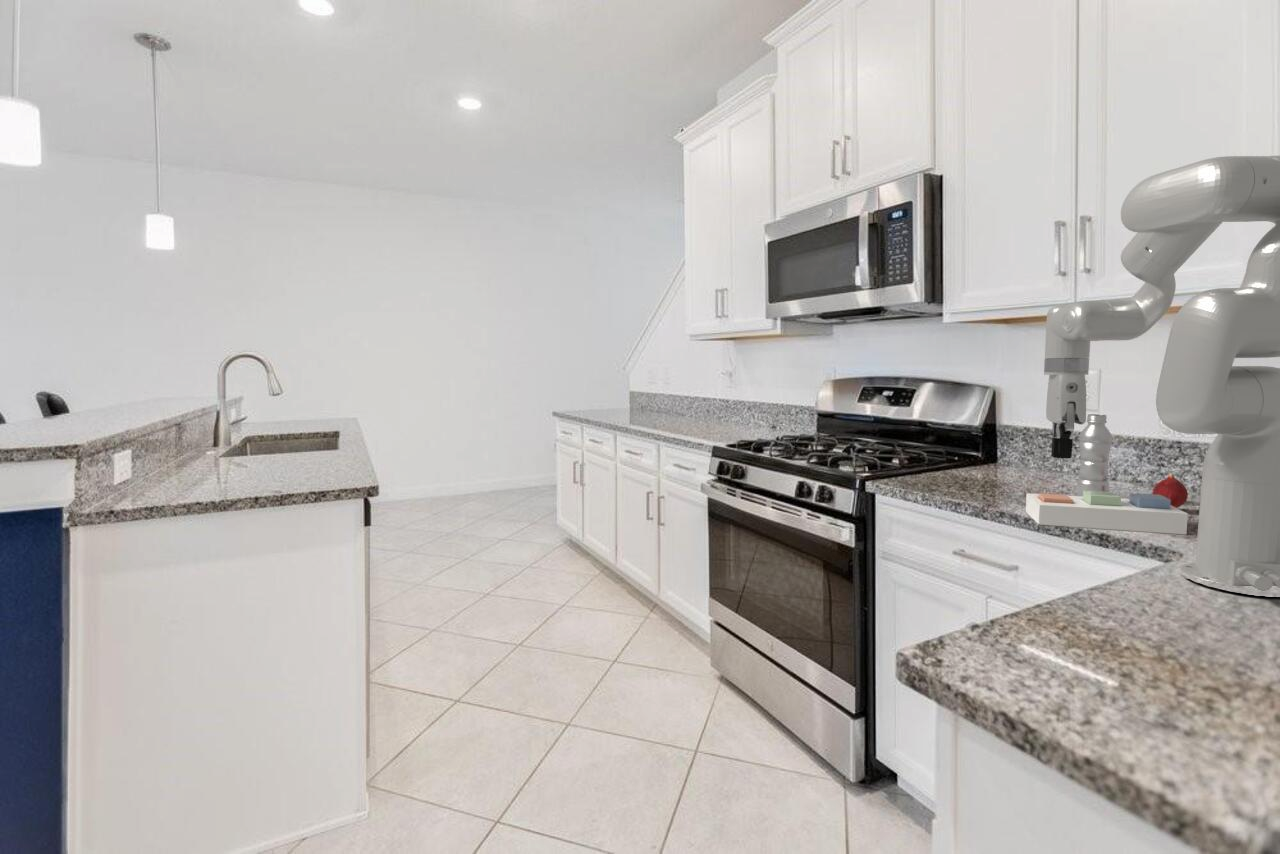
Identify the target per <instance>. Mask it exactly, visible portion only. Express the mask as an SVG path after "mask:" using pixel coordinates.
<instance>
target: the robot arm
mask: <svg viewBox="0 0 1280 854" xmlns="http://www.w3.org/2000/svg"><path fill="white" fill-rule="evenodd" d="M1120 221H1121V222H1122V224H1123V226H1124V228H1125V229H1127V230H1128V231H1130V232H1132V233H1133V232H1134V233H1136V234H1135V235H1134V236H1133V237H1132V238H1131V240H1130V241H1129V242H1127V244H1126V245H1125V247H1124V248H1123V249H1122V250H1121V254H1120V261H1121V264H1122V266H1123V267H1124V268H1125V270H1126V271H1127V272H1128V273H1130V274H1131V275H1132V276H1134V277H1135V278H1136V279H1138V280H1140V281H1142V282H1144V283H1143V285H1142V286H1141V287H1140V288H1139V290H1137V291H1136V293H1135V294H1133V296H1132V297H1131V298H1129V299H1127V300H1125V299H1114V300H1113V299H1109V300H1108V299H1106V300H1104V299H1101V300H1080V301H1076V302H1073V303H1071V304H1065V305H1055V306H1053V307H1051V308H1049V309H1048V311H1047V313H1046V322H1045V323H1046V326H1045V327H1046V329H1045V342H1044V343H1045V344H1044V347H1045V349H1044V363H1043V364H1044V365H1043V367H1044V368H1043V375H1045V376H1047V375H1048V383H1047V391H1046V392H1047V393H1046V394H1047V395H1046V403H1045V404H1046V406H1045V407H1046V408H1045V409H1046V412H1045V414H1046V419H1047V420H1048V421H1049V422H1051V423H1052V432H1051V433H1052V438H1051V453H1050V456H1051V457H1052V458H1054V459H1071V458H1072V455H1073V441H1074V440H1073V437H1074V431H1075V424H1078V425H1084V424H1086V423H1087V383H1086V376H1085V375H1087V376H1088V375H1089V373H1090V372H1089V369H1090V352H1091V342H1099V341H1100V342H1101V341H1102V342H1103V341H1129V340H1135V339H1138V338H1139V337H1142V335H1144V334H1145V333H1147V332H1148V331H1149V330H1151V328H1153V327H1154V325H1156V323H1157V322H1159V321H1160V320H1161V319H1162V318H1163V316H1165V315H1166V313H1167V312H1168V310H1169V309H1170V308H1171V306H1172V304H1173V301H1174V297H1175V292H1176V283H1177V282H1176V278H1175V273H1177V271H1178V270H1179V269H1180V268H1181V267H1182V266H1183V265H1184V264H1185V263H1186V262H1187V261H1188V260H1189V258H1191V256H1192V255H1193V254H1194V253H1195V252H1196V251H1197V250H1198V249H1199V248H1200V247H1201V246H1202V245H1203V244H1204V242H1206V241H1207V240H1208V239H1209V237H1210V236H1211V235H1212V234H1213V233H1214V232H1215V231H1216V230H1217V229H1218V228H1219V227H1220V226H1221V225H1222V224H1223V222H1224V223H1227V222H1228V223H1232V222H1233V223H1238V222H1239V223H1240V222H1241V223H1245V222H1246V223H1248V222H1269V223H1273V224H1274V226H1273V227H1272V228H1270V229H1269V230H1268V231H1267V232H1266V233H1265V234H1264V235H1263V236H1262V238H1261V239H1260V240H1259V241H1258V243H1257V244H1256V245H1255V246H1254V248H1253V250H1251V253H1250V256H1248V257H1249V258H1248V259H1247V260H1248V261H1247V265H1246V269H1245V273H1244V276H1243V279H1242V282H1241V285H1240V286H1239V287H1220V288H1219V287H1218V288H1213V289H1208V290H1204V291H1202V292H1199V293H1197V294H1196V295H1194V296H1192V297H1190V299H1188V300H1187V301H1186V302H1185V303H1183V305H1182V306H1181V307H1180V309H1179V310H1178V312H1177V314H1176V315H1175V317H1174V319H1173V321H1172V325H1171V327H1170V330H1169V331H1170V332H1169V335H1168V339H1167V343H1166V349H1165V353H1164V356H1163V357H1164V358H1163V361H1162V366H1161V369H1160V375H1159V377H1158V378H1159V379H1158V384H1157V388H1156V395H1155V396H1156V397H1155V407H1156V411H1157V412H1156V413H1157V415H1158V417H1159V419H1160V421H1161V422H1162V423H1163V424H1164V425H1165V426H1166V427H1167V428H1169V429H1170V430H1172V431H1174V432H1177V433H1182V434H1188V435H1189V434H1190V435H1191V434H1192V435H1216V437H1215V438H1214V440H1213V441H1212V442H1211V444H1210V445H1209V447H1208V449H1207V451H1206V454H1205V456H1204V459H1203V464H1202V465H1203V466H1202V475H1201V483H1200V487H1201V488H1200V496H1199V497H1200V498H1199V512H1198V525H1197V535H1196V536H1197V537H1196V550H1195V561H1194V562H1191V563H1190V562H1189V563H1186V564H1184V565H1182V566H1181V569H1180V572H1181V571H1182V572H1183V573H1185V574H1187V575H1189V576H1192V577H1195V578H1198V579H1201V580H1205V581H1211V582H1216V583H1220V584H1226V585H1231V586H1253V587H1255V588H1257V589H1258V590H1261V591H1266V590H1269V589H1270V588H1271V587H1272V586H1277V587H1279V588H1280V367H1275V366H1267V365H1266V366H1264V365H1263V366H1262V365H1239V366H1238V365H1234V362H1235V359H1258V358H1259V359H1260V358H1261V359H1262V358H1263V359H1264V358H1266V359H1268V358H1280V155H1261V156H1260V155H1255V156H1253V155H1249V156H1248V155H1243V156H1242V155H1241V156H1240V155H1233V156H1232V155H1229V156H1227V155H1225V156H1218V157H1217V156H1216V157H1211V158H1207V159H1203V160H1199V161H1196V162H1193V163H1189V164H1187V165H1183V166H1180V167H1177V168H1176V167H1175V168H1173V169H1169V170H1166V171H1162V172H1160V173H1156V174H1154V175H1151V176H1148V177H1147V178H1145V179H1143V180H1141V181H1140V182H1138V183H1137V184H1136V185H1135V186H1134V187H1133V188H1132V189H1131V190H1130V191H1129V193H1127V195H1126V196H1125V199H1124V200H1123V203H1122V205H1121V209H1120ZM1205 578H1206V579H1205Z"/></svg>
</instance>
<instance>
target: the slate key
mask: <svg viewBox="0 0 1280 854" xmlns="http://www.w3.org/2000/svg"><path fill="white" fill-rule="evenodd" d="M1129 499H1130V500H1129V503H1130V504H1132V505H1134V506H1136V507H1138V508H1155V509H1170V504H1171V500H1170V499H1168V498H1166V497H1164V496H1162V495H1154V494H1153V493H1151V494H1150V493H1131V492H1130V493H1129Z"/></svg>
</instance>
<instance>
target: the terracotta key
mask: <svg viewBox="0 0 1280 854" xmlns="http://www.w3.org/2000/svg"><path fill="white" fill-rule="evenodd" d="M1037 494H1038V498H1039V499H1040V500H1041V501H1042V502H1050V503H1068V504H1073V499H1071V498H1070V497H1068V496H1069V495H1067V494H1057V493H1056V494H1055V493H1054V494H1052V493H1037Z"/></svg>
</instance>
